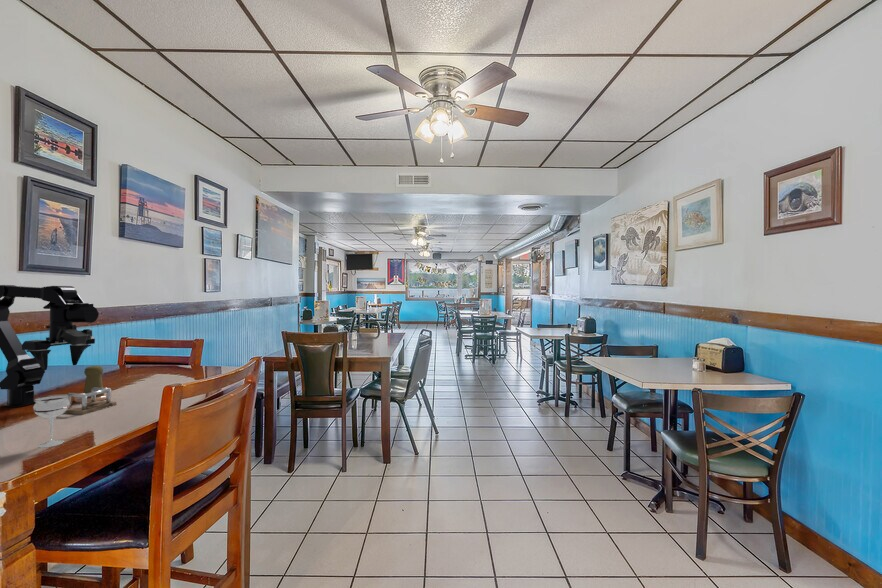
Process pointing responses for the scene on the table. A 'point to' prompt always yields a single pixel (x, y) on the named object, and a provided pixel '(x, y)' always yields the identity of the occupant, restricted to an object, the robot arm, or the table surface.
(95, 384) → the olive green tapered cylinder
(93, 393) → the silver twin cylinder holder
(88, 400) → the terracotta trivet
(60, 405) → the wineglass
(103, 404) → the base
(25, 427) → the table surface
